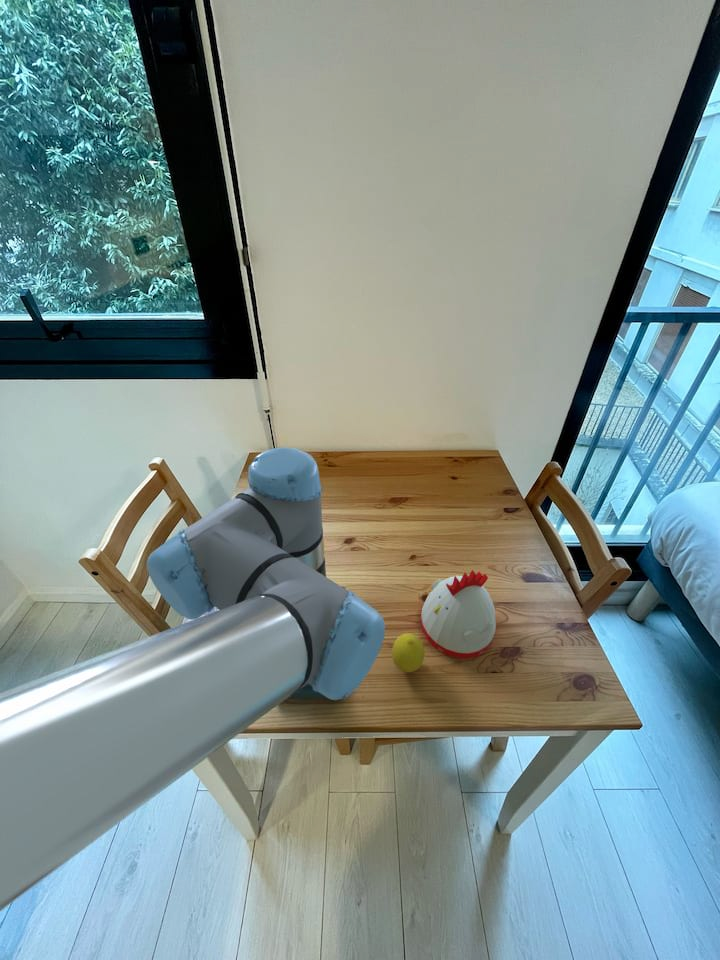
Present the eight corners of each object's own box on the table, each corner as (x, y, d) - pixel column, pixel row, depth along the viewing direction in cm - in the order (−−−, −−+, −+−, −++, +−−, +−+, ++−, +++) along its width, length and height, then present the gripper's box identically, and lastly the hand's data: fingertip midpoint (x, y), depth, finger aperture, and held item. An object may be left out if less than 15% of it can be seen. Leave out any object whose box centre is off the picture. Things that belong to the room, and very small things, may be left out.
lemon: (428, 669, 72) (434, 644, 67) (404, 686, 69) (407, 662, 64) (408, 644, 75) (412, 619, 70) (384, 660, 73) (386, 635, 68)
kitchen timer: (408, 606, 82) (415, 555, 73) (467, 586, 86) (480, 535, 77) (443, 669, 72) (457, 618, 63) (508, 643, 76) (529, 592, 67)
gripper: (347, 539, 55) (348, 636, 70) (252, 536, 56) (273, 633, 70) (344, 583, 49) (346, 679, 64) (237, 580, 50) (263, 676, 64)
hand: (308, 655), depth 67 cm, fingers closed
